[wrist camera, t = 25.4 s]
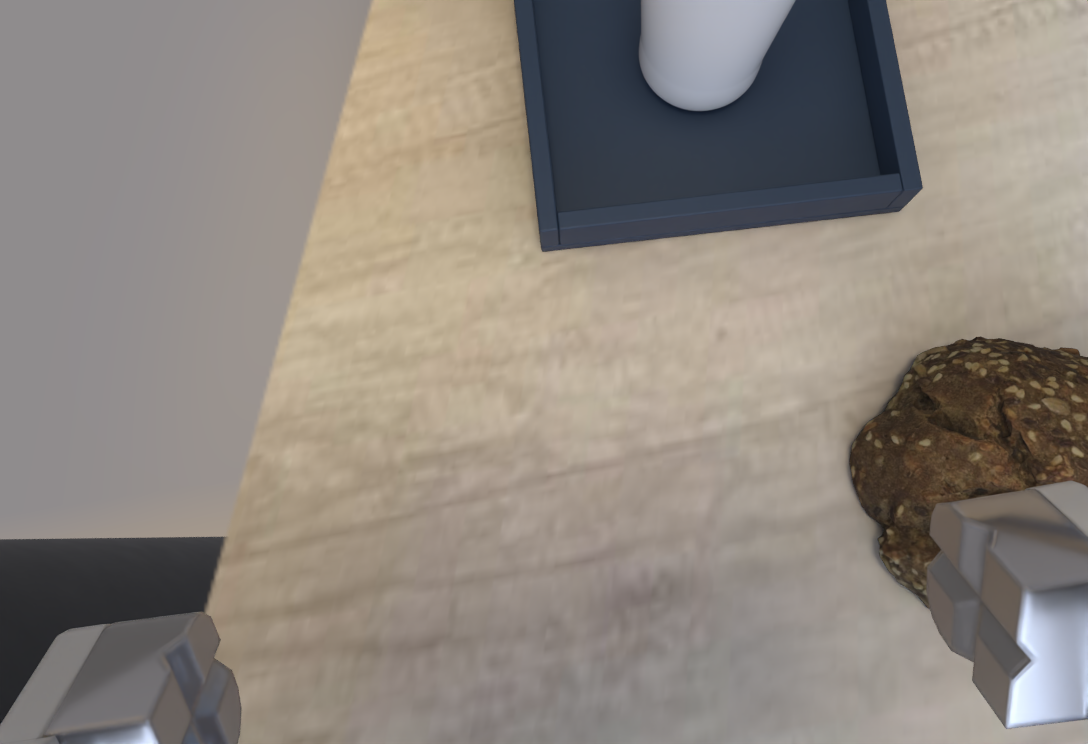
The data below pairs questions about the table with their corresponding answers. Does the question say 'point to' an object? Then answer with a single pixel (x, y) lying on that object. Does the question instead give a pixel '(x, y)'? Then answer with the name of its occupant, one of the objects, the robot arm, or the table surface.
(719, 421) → the table surface
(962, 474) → the bread roll
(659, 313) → the table surface
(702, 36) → the white cup
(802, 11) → the dark blue-gray tray
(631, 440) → the table surface
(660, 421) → the table surface
